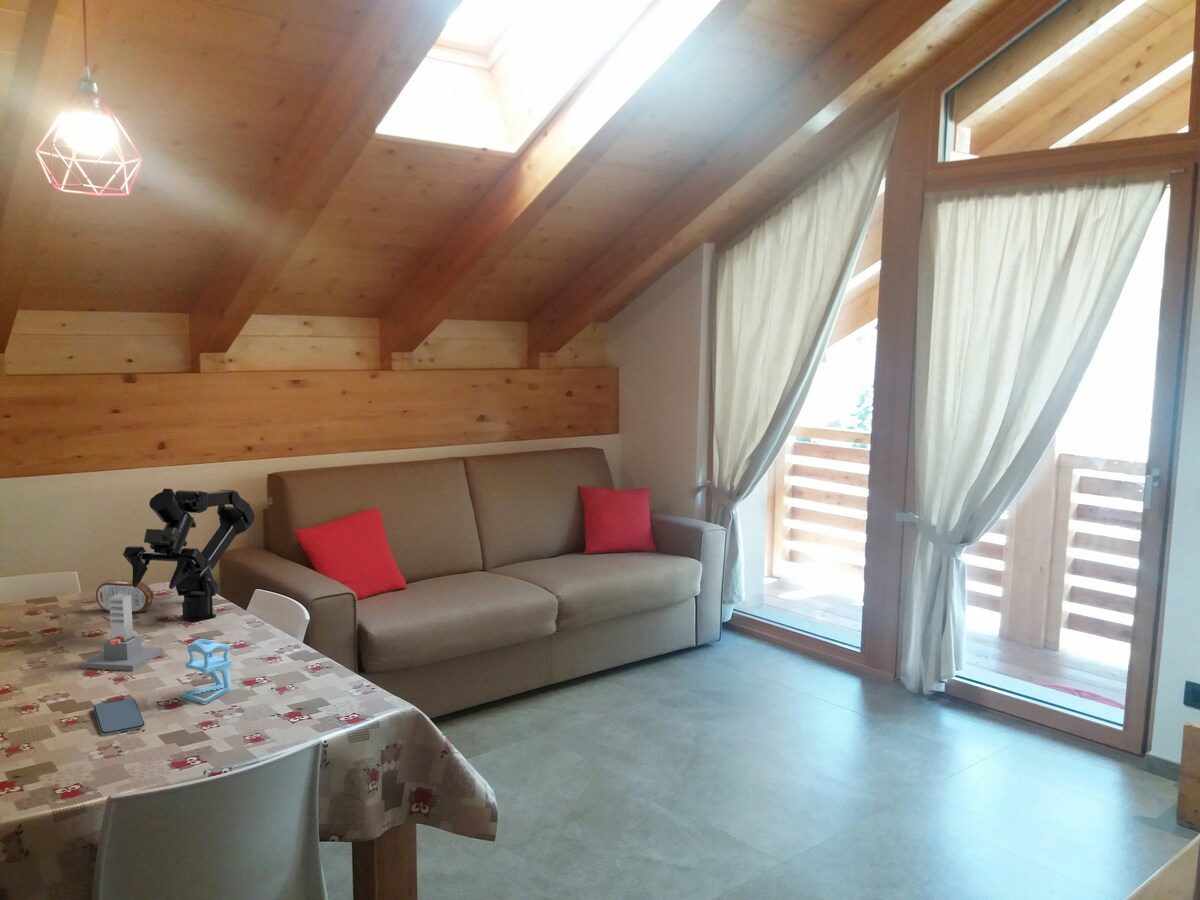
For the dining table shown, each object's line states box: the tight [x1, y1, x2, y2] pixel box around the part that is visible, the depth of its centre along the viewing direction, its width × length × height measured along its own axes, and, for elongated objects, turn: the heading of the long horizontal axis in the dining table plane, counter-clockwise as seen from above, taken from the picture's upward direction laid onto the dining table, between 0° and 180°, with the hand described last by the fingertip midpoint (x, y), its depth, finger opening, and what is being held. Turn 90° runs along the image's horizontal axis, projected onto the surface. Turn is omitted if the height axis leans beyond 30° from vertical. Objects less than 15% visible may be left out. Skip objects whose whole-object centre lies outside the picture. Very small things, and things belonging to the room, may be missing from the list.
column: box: [109, 594, 135, 642], centre depth 213 cm, size 4×3×10 cm
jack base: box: [81, 635, 164, 672], centre depth 214 cm, size 12×12×6 cm
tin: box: [95, 579, 154, 613], centre depth 251 cm, size 15×3×8 cm, turn 84°
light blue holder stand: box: [181, 638, 233, 704], centre depth 194 cm, size 8×8×12 cm
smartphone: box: [93, 697, 146, 737], centre depth 182 cm, size 8×2×15 cm
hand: (152, 587), depth 226 cm, fingers open, 9 cm apart
